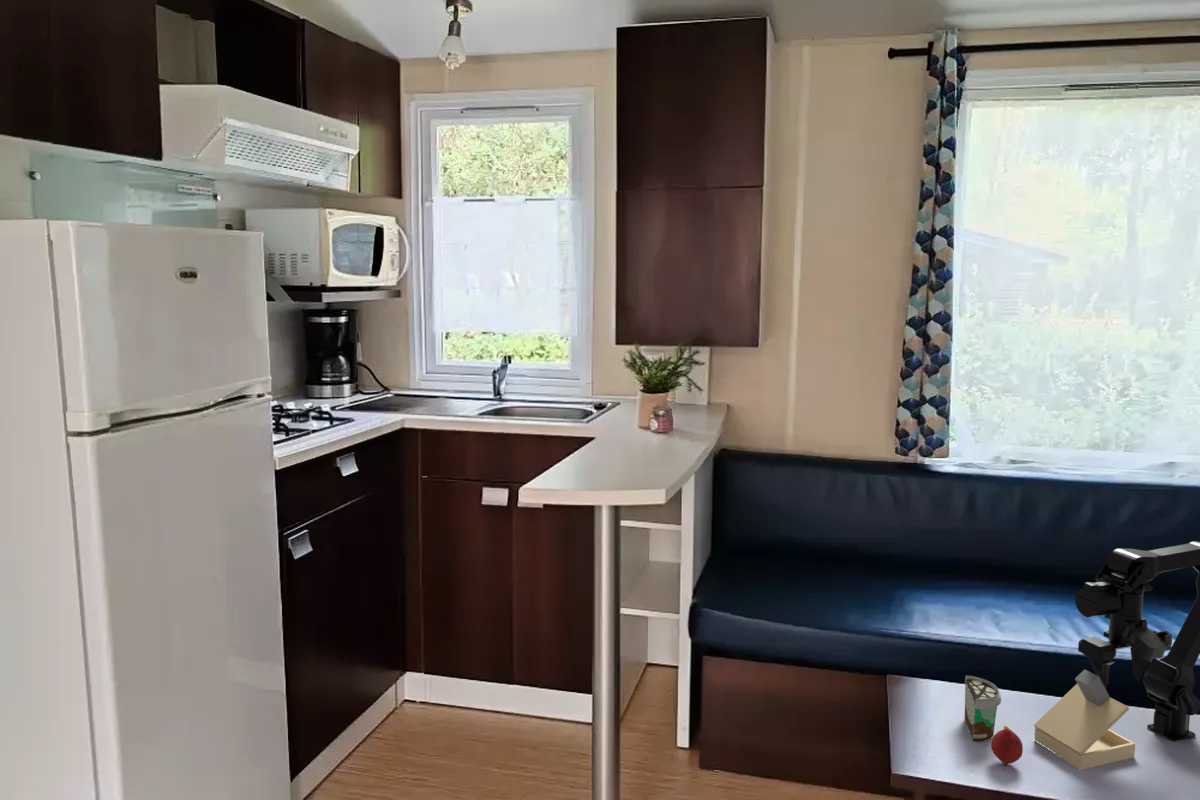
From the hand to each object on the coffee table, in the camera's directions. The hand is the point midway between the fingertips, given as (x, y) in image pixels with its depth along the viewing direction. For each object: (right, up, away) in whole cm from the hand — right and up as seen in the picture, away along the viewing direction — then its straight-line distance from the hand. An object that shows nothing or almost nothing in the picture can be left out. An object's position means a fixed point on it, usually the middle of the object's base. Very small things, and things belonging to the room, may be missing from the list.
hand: (1120, 683), depth 191 cm
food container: (-26, -13, +7) cm, 30 cm away
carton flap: (-10, -7, -2) cm, 12 cm away
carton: (-8, -13, -1) cm, 16 cm away
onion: (-27, -15, -6) cm, 31 cm away
